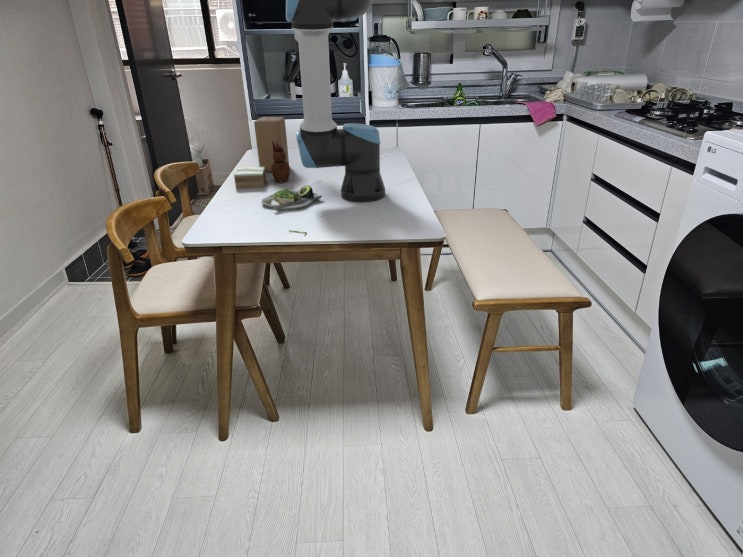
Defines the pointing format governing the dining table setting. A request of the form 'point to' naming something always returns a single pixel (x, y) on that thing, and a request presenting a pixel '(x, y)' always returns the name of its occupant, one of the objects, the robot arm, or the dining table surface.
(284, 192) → the salad plate
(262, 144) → the block
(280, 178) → the wooden figurine
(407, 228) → the dining table surface
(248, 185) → the plinth
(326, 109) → the robot arm
